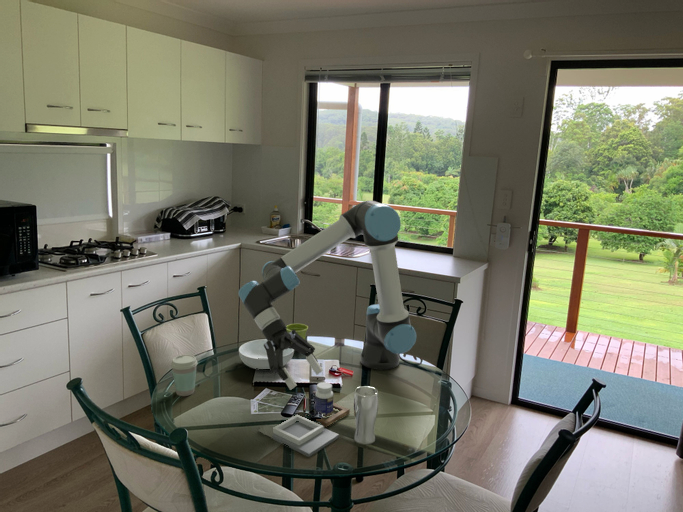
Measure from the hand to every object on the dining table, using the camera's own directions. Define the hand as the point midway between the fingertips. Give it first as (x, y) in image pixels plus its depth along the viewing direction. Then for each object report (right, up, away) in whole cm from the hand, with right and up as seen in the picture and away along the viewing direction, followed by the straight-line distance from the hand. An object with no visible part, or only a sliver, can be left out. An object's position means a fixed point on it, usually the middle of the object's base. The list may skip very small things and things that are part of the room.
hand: (307, 380), depth 170 cm
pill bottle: (+5, -11, 0) cm, 12 cm away
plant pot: (-8, +1, +55) cm, 55 cm away
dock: (-2, -13, -12) cm, 18 cm away
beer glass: (+17, -14, -14) cm, 26 cm away
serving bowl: (-18, -3, +36) cm, 40 cm away
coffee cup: (-42, -7, +12) cm, 44 cm away
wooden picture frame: (+5, -11, 0) cm, 12 cm away
